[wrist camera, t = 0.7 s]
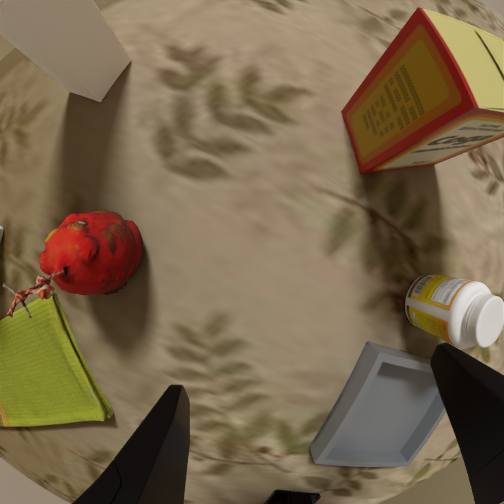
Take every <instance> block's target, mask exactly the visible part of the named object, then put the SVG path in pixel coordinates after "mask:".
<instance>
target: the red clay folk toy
mask: <svg viewBox="0 0 504 504" xmlns="http://www.w3.org/2000/svg"><path fill="white" fill-rule="evenodd" d="M142 255H143V247H142V239H141V234H140V231H139V229H138V227H137V225H136V224H135V223H134V222H133V221H128V220H124V219H123V218H122V217H121V216H120V215H119V214H117V213H115V212H112V211H111V212H109V211H107V210H99V211H93V212H90V213H84V214H70V215H69V216H68V217H66V219H65V220H64V221H63V222H62V223H61V224H60V226H59V227H58V228H56V229H54V230H53V231H51V233H50V234H49V235H48V236H47V238H46V240H45V251H44V252H42V253H41V255H40V268H41V270H42V271H43V272H44V273H46V274H48V275H50V276H49V277H48V278H47V279H46V278H45V277H43V276H41V275H40V276H38V277H37V280H36V283H37V284H36V285H35V286H34V287H32V288H30V289H28V290H26V291H23V290H20V291H18V292H15V291H14V290H13V289H12V288H11V287H10V286H8V285H6V284H5V283H3V287H6V288H8V289H9V290H10V291H12V292H13V294H14V296H15V299H14V301H13V303H12V305H11V307H10V309H9V311H8V313H7V315H8V316H10V317H11V318H12V317H13V312H14V309H15V307H16V305H17V304H18V303H19V302H22V304H23V306H24V308H25V311H26V312H27V314H28V316H29V318H32V317H31V315H30V313H29V310H28V309H27V307H26V305H25V303H24V301H25V299H26V298H27V296H28V295H29V294H34V293H35V294H38V295H39V297H40V299H42V300H43V299H49V298H50V297H51V296H52V295H53V294H54V289H55V288H54V287H53V285H49V284H50V281H51V279H53V280H54V281H55V282H56V283H57V284H58V286H59V287H60V288H61V289H62V290H64V291H67V292H69V293H73V294H80V295H90V294H96V295H97V294H104V295H109V294H112V293H116V292H117V291H118V290H119V289H121V288H123V287H124V286H125V285H126V284H127V281H128V280H129V279H130V278H131V276H132V275H133V274H134V273H135V271H136V270H137V268H138V267H139V263H140V260H141V258H142ZM38 287H41V288H40V289H36V288H38Z"/></svg>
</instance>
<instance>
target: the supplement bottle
mask: <svg viewBox="0 0 504 504" xmlns="http://www.w3.org/2000/svg"><path fill="white" fill-rule="evenodd" d="M405 311H406V315H407V318H408V319H409V321H410V322H411V323H412V324H413V325H414V326H416V327H418V328H420V329H422V330H424V331H426V332H428V333H430V334H432V335H434V336H436V337H438V338H440V339H442V340H444V341H446V342H448V343H450V344H452V345H454V346H456V347H458V348H462V349H467V348H470V347H473V346H474V345H478V346H480V347H488V346H490V345H491V344H493V343H494V342H495V340H496V339H497V338H498V336H499V334H500V332H501V330H502V328H503V325H504V302H503V300H502V299H501V298H500V297H498V296H494V295H492V294H491V292H490V291H489V289H488V288H487V286H486V285H484V284H483V283H480V282H477V281H471V280H465V279H459V278H453V277H447V276H441V275H435V274H426V275H423V276H421V277H419V278H417V279H416V280H415V281H414V282H413V284H412V285H411V286H410V288H409V290H408V293H407V295H406V300H405Z"/></svg>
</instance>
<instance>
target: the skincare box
mask: <svg viewBox="0 0 504 504" xmlns="http://www.w3.org/2000/svg"><path fill="white" fill-rule="evenodd" d="M3 231H4V229H3V228H2V227H1V226H0V243H1V239H2V235H3Z"/></svg>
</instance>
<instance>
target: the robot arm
mask: <svg viewBox="0 0 504 504" xmlns="http://www.w3.org/2000/svg"><path fill="white" fill-rule="evenodd" d="M430 365H431V368H432V371H433V374H434V378H435V381H436V384H437V387H438V390H439V394H440V397H441V399H442V402H443V405H444V407H445V409H446V412H447V415H448V417H449V420H450V422H451V425H452V428H453V430H454V433H455V436H456V439H457V442H458V445H459V448H460V451H461V454H462V457H463V460H464V463H465V466H466V470H467V473H468V476H469V481H470V484H471V488H472V492H473V496H474V501H475V504H499V503H501V502H503V501H504V375H502V374H501V373H499V372H497V371H495V370H494V369H492V368H490V367H489V366H487V365H485V364H484V363H482V362H480V361H478V360H477V359H475V358H473V357H472V356H470V355H468V354H466V353H465V352H463V351H461V350H459V349H458V348H456V347H454V346H453V345H451V344H449V343H447V342H445V343H441V344H439V345H437V346H436V348H435V351H434V353H433V355H432V357H431V360H430ZM189 446H190V402H189V398H188V396H187V393H186V391H185V388H184V386H183V385H170V386H169V387H168V388H167V390H166V391H165V392H164V394H163V395H162V396H161V398H160V399H159V400H158V402H157V403H156V404H155V406H154V407H153V408H152V410H151V411H150V412H149V414H148V415H147V416H146V418H145V419H144V420H143V421H142V423H141V424H140V425H139V427H138V428H137V429H136V431H135V432H134V433H133V435H132V436H131V437H130V439H129V440H128V441H127V442H126V444H125V445H124V446H123V448H122V449H121V450H120V452H119V453H118V454H117V455H116V457H115V458H114V460H112V462H111V463H110V464H109V466H108V467H107V468H106V469H105V471H104V472H103V473H102V474H101V475H100V477H99V478H98V479H97V480H96V481H95V482H94V483H93V484H92V485H91V486H90V487H89V488H88V489H87V490H86V491H85V492H84V493H83V494H82V495H81V496H80V497H79V498H77V499H76V500H75V501H74V502H73V503H72V504H183V503H184V492H185V483H186V473H187V464H188V455H189ZM320 497H321V496H320V494H316V493H302V492H292V491H283V490H276V491H274V492H273V494H272V495H271V496H270V497H269V499H268V500H267V501H266V502H265V503H264V504H315V503H316V502H317V501H318V500H319V499H320Z"/></svg>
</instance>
